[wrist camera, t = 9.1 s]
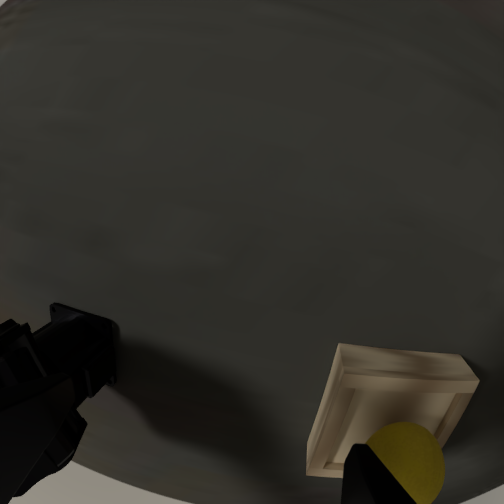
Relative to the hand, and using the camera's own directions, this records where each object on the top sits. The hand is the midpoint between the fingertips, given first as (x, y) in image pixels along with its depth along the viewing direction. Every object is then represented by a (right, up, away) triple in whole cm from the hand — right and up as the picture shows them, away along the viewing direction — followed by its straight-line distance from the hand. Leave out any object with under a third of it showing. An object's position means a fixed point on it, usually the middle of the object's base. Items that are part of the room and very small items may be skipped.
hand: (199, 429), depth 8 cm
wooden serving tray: (+12, -7, +13) cm, 19 cm away
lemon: (+11, -7, +10) cm, 17 cm away
